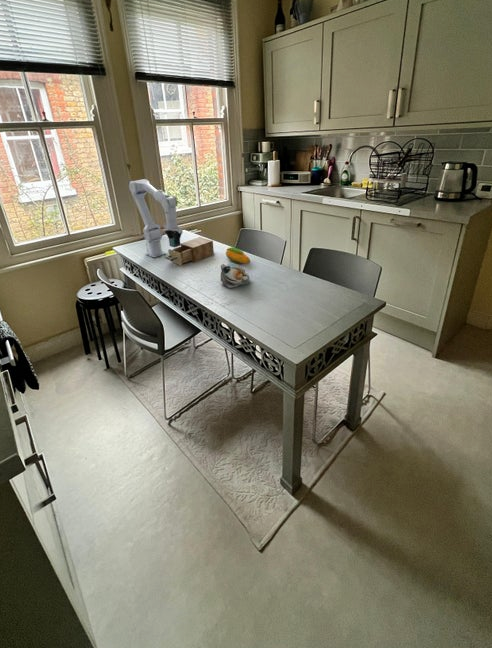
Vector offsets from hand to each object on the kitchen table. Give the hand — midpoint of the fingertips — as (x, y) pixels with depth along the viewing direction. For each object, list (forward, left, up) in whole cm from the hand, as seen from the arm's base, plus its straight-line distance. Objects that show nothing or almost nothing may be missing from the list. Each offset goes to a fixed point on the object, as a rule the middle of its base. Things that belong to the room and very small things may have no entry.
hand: (174, 243), depth 176 cm
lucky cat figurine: (+47, -1, -11) cm, 49 cm away
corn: (+29, +20, -11) cm, 37 cm away
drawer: (+4, 0, -10) cm, 10 cm away
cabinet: (+4, +12, -11) cm, 17 cm away
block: (0, 0, -1) cm, 1 cm away
